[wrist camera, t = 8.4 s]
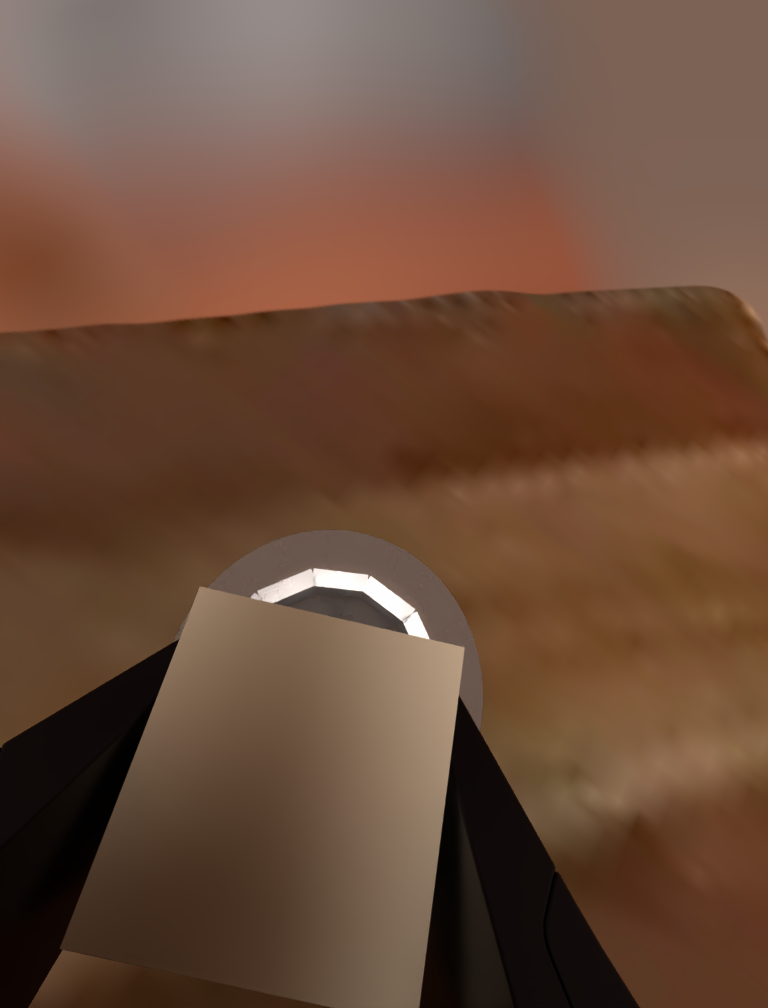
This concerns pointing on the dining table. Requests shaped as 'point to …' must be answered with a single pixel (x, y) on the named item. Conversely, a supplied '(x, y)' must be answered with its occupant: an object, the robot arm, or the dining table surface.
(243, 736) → the wedge pin
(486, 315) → the dining table surface
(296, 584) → the steel rosette
